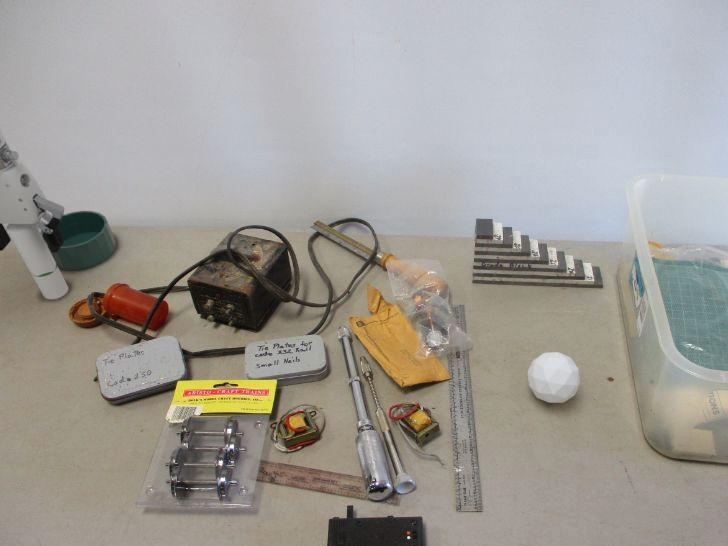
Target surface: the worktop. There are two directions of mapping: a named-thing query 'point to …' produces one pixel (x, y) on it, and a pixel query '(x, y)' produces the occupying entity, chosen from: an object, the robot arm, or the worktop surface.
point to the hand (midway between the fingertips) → (31, 246)
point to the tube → (38, 259)
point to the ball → (553, 377)
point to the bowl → (83, 240)
